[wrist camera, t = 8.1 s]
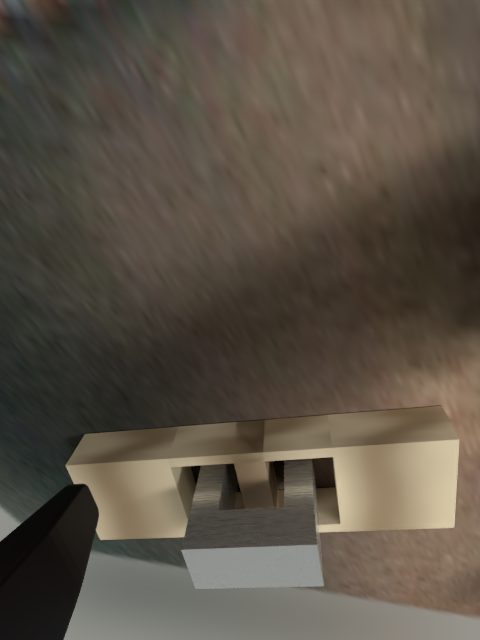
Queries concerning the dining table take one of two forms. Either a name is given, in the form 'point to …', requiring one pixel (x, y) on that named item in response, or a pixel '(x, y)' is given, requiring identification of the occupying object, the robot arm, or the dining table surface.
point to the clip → (253, 533)
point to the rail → (259, 474)
